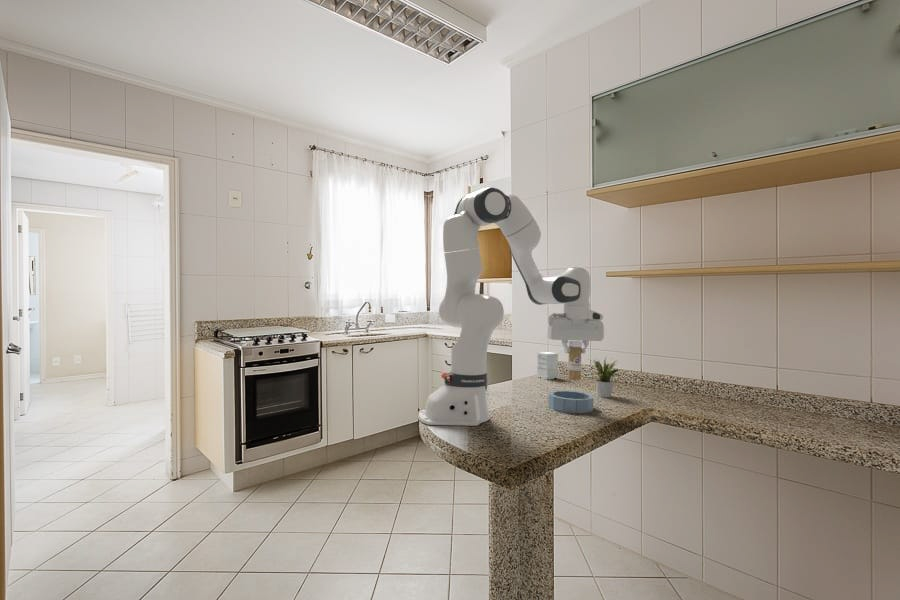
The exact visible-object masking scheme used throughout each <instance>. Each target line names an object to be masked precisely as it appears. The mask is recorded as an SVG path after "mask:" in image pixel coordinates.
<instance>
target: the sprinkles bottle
mask: <svg viewBox="0 0 900 600" xmlns="http://www.w3.org/2000/svg"><path fill="white" fill-rule="evenodd" d="M567 346H568V348H571V350H570V351H571V353H568V355H567V356H568V357H567V358H568V359H567V379H568V380H571V381H581V379H582V378H581V374H582V373H581V372H582V354H581V348H582V346H583V343H582V341H579V340H568V343H567Z"/></svg>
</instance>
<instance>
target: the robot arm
mask: <svg viewBox="0 0 900 600" xmlns="http://www.w3.org/2000/svg"><path fill="white" fill-rule="evenodd" d="M491 224H495V225H496V227H498V228H499V229H500V231H501V233H502V235H503V236H504V238H505V239H506V241H507V243H508V245H509V247H510V254H511V256H512V259H513V261H514V263H515V265H516V267H517V269H518V271H519V274H520V275H521V278H522V279H523V282H524V283H525V287H526V291H527V296H528V298H529V299H530V300H531V302H532V303H533V304H535V305H537V306H538V305H539V306H541V305H548V304H550V305H551V304H552V305H557V304H563V313H557V312H556V313H555V312H553V313H552V314H550V315H549V316H548V327H547V338H548V339H549V340H552V341H553V340H554V341H561V344H562V346H563V348H564V350H563V351H564V353H565V354H569V353H571V351H570V350H571V348H569V346H568V343H569V341H580V342H582V347H581V355H582V354H586V349H587V348H588V346H590V345H589V344H590V341H591V342H601V341H603V339H604V338H605V327H604V323H603V321H602V320H603V318H604V315H603V314H602V313H599V312H598V311H594V310H592V309H591V308H590V307H591V304H590V296H591V278H590V273H589V271H588V270H587V269H585V268H582V267H568V268H567V269H566V270H565V271H564V272H563V273H560V274H558V275H554V276H544V275H542V274H541V273H540V271H539V269H538V267H537V264H536V263H535V261H534V258H533V256H532V252H533V250H534V249H536V247H537V246H538V245H539V242H540V240H541V237H542V236H541V235H542V233H541V229H540V227H539V225H538V222H537V221H536V220H535V217H534V216H533V214H532V213H531V211H530V209H528V207H527V206H526V205H525V204H524V202H523V201H522V200H521V199H520V198H519V197H518V196H517V195H515V194H505V192H503V191H502V190H500V189H499V188H497V187H493V186H492V187H491V186H490V187H484V188H481V189H479V190H474V191H472V192H470V193H469V194H466V195H465V196H464V195H463V197H461V198H460V199H459V200H458V202H457V203H456V206H455V210H454V214H453V215H450V216H448V218H447V219H445V221H444V223H443V228H442V229H443V230H442V242H443V243H442V244H443V253H444V261H445V268H446V269H445V270H446V287H445V289H446V290H445V294H444V296H443V299H442V300H441V301H440V304H439V308H438V313H439V317H440V319H441V321H442V322H443V323H445V324H447V325H450V326H452V327H453V328H459V329H461V331H460V334H459V338H458V339H457V341H456V342H455V343H454V344H453V345H452V346H451V356H450V357H451V364H450V372H448V373H447V372H446V371H443V372H441V374H440V376H441V378H442V379H444V384H442V385H441V386H440V387H439V388H438V389H436V390H435V391H434V392H432V393H430V395H428V398H427V399H426V403H425V409H422V410H420V411H419V412H418V414H417V415H418V416H417V417H418V419H419V421H420V422H422V423H423V424H425V425H429V426H434V425H435V426H472V427H473V426H475V427H476V426H479V425H481V423H482V424H483V423H485V422H487V421H489V420H490V419H491V416H490V413H489V408H488V401H487V400H488V399H487V390H488V389H487V388H488V373H487V353H488V347H489V342H490V339H491V338H492V334H493V333H494V331H495V330H496V328H497V327H499V326H500V324H501V323H502V321H503V319H504V316H505V315H504V314H505V312H504V311H505V310H504V309H505V308H504V306H503V303H502V302H501V300H499V298H497V297H495V296H492V295H489V294H485V293H484V294H483V293H476V286H477V281H478V280H479V278H480V277H481V276H482V273H483V267H482V260H481V258H482V257H481V252H480V244H479V240H478V239H479V238H478V237H479V236H478V235H479V230H480V228H481V227H486V226H489V225H491ZM424 413H425V414H424ZM423 414H424V415H423ZM422 416H423V417H422Z"/></svg>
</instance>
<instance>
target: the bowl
mask: <svg viewBox="0 0 900 600" xmlns="http://www.w3.org/2000/svg"><path fill="white" fill-rule="evenodd" d="M548 408H550V409H552V410H554V411H558V412H563V413H568V414H569V413H570V414H588V413H589V414H590V413H591V412H593V411H594V394H593V395H592V394H590V393H587V392H583V391H577V390H566V389H565V390H552V391H549V393H548Z"/></svg>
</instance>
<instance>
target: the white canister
mask: <svg viewBox="0 0 900 600" xmlns="http://www.w3.org/2000/svg"><path fill="white" fill-rule="evenodd" d="M536 367H537V368H536V369H537V370H536V371H537V372H536V375H537V376H538V377H541V378H540V379H542V378H544V379H543V380H546V379H548V380H555V379H554V378H557V379H559V378H558V373H559V353H557V352H553V351H551V352H550V351H540V352H537V366H536ZM537 376H536V377H537ZM538 377H537V378H538Z"/></svg>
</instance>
